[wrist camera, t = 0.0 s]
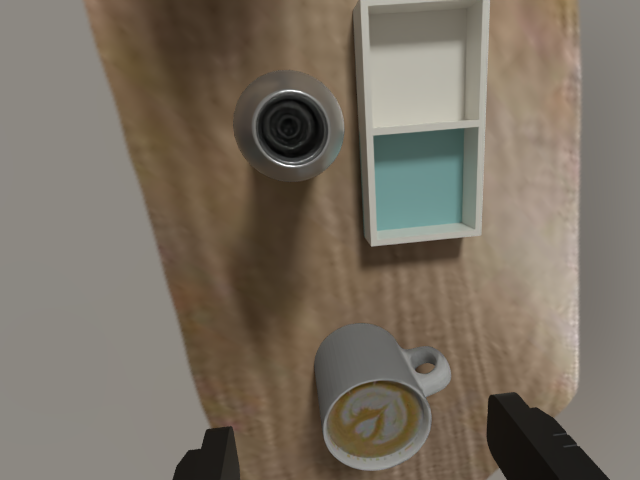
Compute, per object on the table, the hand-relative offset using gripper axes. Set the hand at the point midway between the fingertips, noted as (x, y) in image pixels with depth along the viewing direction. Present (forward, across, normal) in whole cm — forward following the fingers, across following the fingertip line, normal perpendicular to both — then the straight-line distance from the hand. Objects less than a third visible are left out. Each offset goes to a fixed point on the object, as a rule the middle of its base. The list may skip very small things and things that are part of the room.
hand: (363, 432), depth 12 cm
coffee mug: (+30, -6, +17) cm, 35 cm away
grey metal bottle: (+30, +1, -9) cm, 31 cm away
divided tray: (+29, -11, -8) cm, 32 cm away
